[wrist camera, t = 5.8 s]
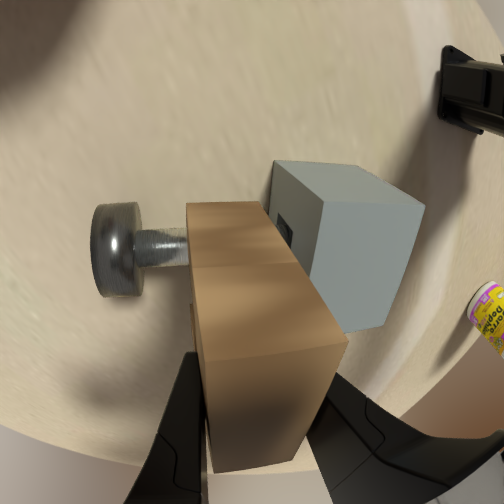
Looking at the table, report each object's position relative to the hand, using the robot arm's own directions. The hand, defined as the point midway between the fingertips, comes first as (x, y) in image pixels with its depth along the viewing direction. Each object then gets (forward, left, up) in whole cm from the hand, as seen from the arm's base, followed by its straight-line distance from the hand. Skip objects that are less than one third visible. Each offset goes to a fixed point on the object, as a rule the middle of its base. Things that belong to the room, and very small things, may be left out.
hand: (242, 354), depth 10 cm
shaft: (0, 0, -10) cm, 10 cm away
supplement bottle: (-37, +12, -11) cm, 40 cm away
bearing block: (-7, 0, -11) cm, 13 cm away
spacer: (0, 0, -5) cm, 5 cm away
